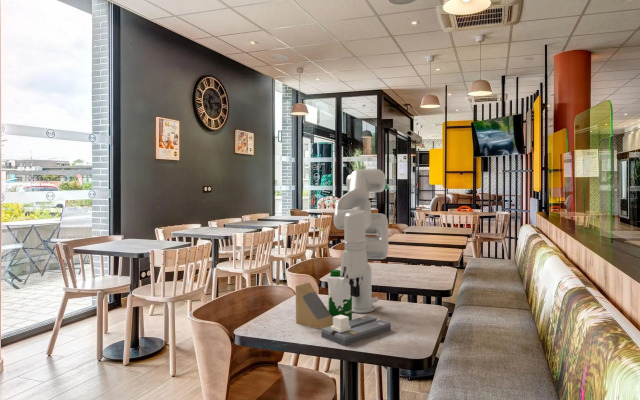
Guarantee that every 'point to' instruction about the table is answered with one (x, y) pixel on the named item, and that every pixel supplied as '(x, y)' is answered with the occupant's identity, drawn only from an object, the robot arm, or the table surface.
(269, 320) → the table surface
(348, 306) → the milk carton
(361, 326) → the fader console
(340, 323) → the fader knob
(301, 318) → the sandwich container
